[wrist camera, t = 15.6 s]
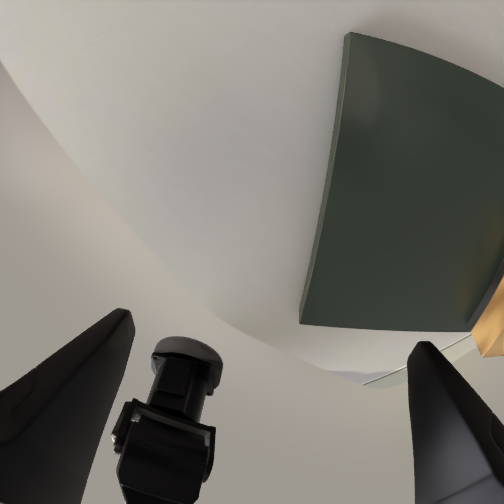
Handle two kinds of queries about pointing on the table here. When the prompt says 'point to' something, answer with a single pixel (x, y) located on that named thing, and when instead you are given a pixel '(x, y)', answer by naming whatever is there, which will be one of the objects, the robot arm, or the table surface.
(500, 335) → the tan rectangular block
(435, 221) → the chalkboard
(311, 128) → the table surface
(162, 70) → the table surface
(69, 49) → the table surface
